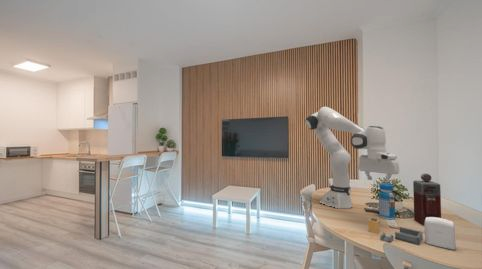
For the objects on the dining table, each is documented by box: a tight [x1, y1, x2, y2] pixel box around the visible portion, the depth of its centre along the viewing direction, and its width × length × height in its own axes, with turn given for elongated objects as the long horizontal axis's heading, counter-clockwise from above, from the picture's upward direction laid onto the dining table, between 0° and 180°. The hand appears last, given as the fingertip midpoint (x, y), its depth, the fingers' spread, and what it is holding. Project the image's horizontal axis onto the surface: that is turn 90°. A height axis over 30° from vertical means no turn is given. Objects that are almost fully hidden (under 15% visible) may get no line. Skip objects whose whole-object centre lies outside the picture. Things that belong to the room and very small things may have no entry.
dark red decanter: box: [412, 173, 442, 227], centre depth 124 cm, size 9×11×28 cm
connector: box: [368, 217, 381, 235], centre depth 114 cm, size 4×4×7 cm
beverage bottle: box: [378, 183, 396, 220], centre depth 135 cm, size 8×8×20 cm
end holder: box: [394, 226, 424, 246], centre depth 106 cm, size 9×10×3 cm
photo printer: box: [424, 217, 457, 251], centre depth 99 cm, size 10×4×12 cm, turn 47°
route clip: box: [380, 232, 394, 244], centre depth 105 cm, size 4×5×2 cm
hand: (378, 180), depth 120 cm, fingers open, 8 cm apart
